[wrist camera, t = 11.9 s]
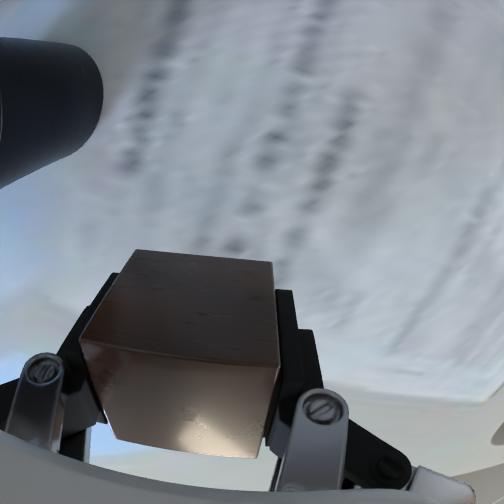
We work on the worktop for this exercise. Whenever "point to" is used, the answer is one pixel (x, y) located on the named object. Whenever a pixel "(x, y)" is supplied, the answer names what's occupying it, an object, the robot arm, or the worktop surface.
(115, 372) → the walnut block
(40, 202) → the worktop surface
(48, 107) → the black cylinder
